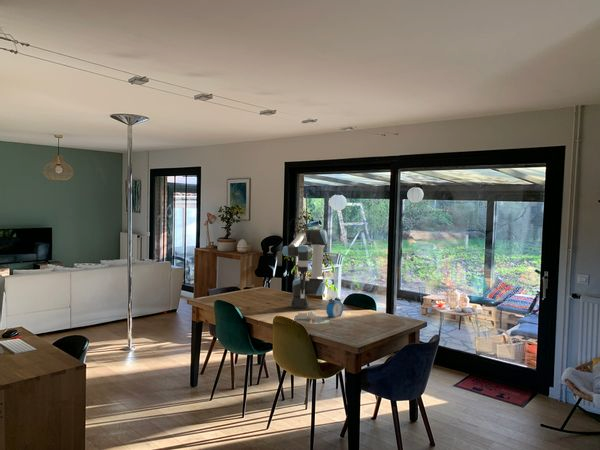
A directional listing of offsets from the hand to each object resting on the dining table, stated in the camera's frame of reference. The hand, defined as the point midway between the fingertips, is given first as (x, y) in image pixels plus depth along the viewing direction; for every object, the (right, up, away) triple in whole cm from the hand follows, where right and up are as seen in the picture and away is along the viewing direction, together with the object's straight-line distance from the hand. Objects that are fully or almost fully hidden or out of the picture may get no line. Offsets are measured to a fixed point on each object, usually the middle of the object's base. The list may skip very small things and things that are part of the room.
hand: (302, 298), depth 340 cm
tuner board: (+7, -16, -7) cm, 19 cm away
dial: (+3, -15, -10) cm, 18 cm away
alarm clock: (+24, -16, +6) cm, 30 cm away
